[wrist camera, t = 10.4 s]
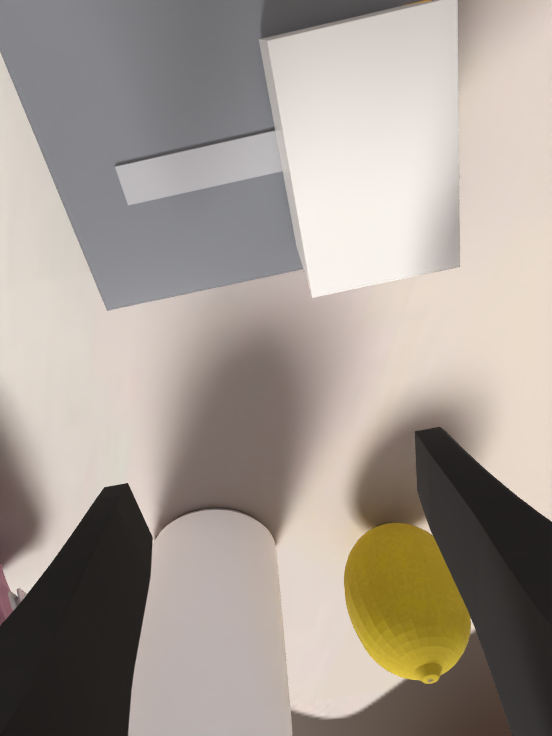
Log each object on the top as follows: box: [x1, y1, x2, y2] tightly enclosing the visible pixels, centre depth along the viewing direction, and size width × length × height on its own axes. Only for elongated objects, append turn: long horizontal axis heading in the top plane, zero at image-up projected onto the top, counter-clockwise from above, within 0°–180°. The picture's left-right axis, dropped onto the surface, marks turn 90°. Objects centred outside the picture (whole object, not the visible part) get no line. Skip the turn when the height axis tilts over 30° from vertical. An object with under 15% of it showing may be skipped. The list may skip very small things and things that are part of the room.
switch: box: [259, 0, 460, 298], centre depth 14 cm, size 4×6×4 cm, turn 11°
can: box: [128, 508, 292, 736], centre depth 23 cm, size 6×6×12 cm
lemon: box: [344, 523, 471, 684], centre depth 25 cm, size 6×6×8 cm
